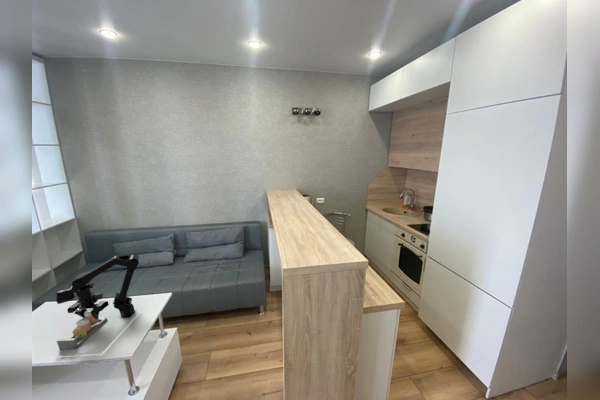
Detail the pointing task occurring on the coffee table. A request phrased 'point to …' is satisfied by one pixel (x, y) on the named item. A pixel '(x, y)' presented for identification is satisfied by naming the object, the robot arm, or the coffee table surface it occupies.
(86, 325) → the jar
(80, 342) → the tray
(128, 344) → the coffee table surface
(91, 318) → the jar
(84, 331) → the yellow lumpy piece
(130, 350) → the coffee table surface
